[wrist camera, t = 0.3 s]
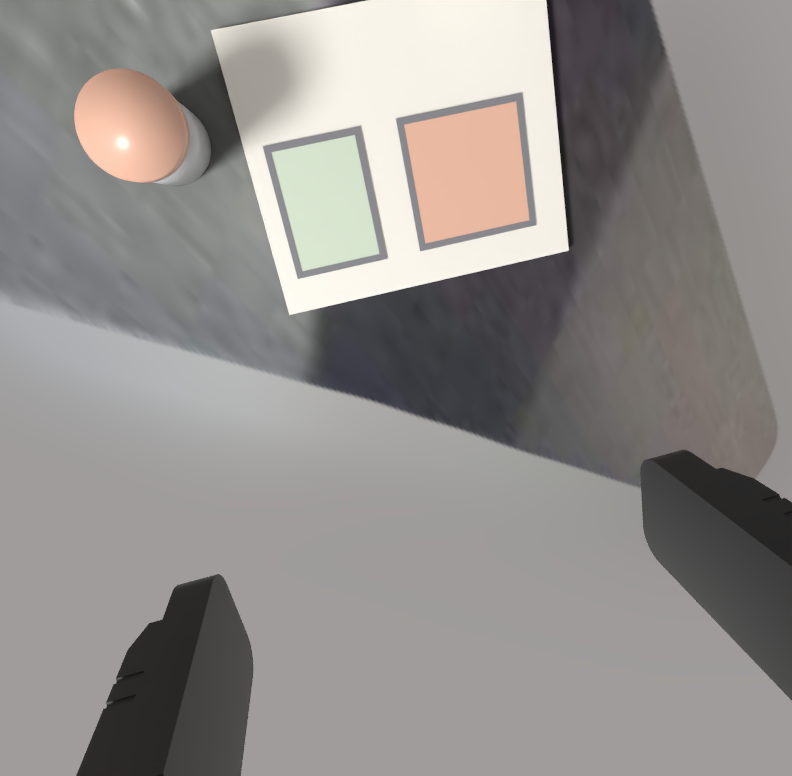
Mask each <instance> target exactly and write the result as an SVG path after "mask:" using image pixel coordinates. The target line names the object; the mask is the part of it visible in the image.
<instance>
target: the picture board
mask: <svg viewBox="0 0 792 776" xmlns="http://www.w3.org/2000/svg"><path fill="white" fill-rule="evenodd" d="M211 32H212V36H213V40H214V43H215V47H216V50H217V54H218V58H219V61H220V65H221V69H222V72H223V76H224V79H225V83H226V87H227V90H228V94H229V98H230V101H231V105H232V108H233V112H234V116H235V119H236V123H237V127H238V130H239V134H240V137H241V141H242V145H243V148H244V152H245V155H246V159H247V163H248V166H249V170H250V174H251V177H252V181H253V184H254V188H255V192H256V195H257V199H258V203H259V206H260V210H261V213H262V217H263V221H264V224H265V228H266V231H267V235H268V239H269V242H270V246H271V250H272V253H273V257H274V260H275V264H276V268H277V271H278V275H279V279H280V282H281V286H282V289H283V293H284V297H285V300H286V304H287V308H288V311H289V315H291V314H296V313H300V312H304V311H309V310H313V309H317V308H322V307H326V306H330V305H335V304H339V303H343V302H348V301H352V300H356V299H361V298H365V297H369V296H374V295H378V294H382V293H387V292H391V291H395V290H400V289H404V288H408V287H413V286H417V285H421V284H426V283H430V282H434V281H439V280H443V279H447V278H452V277H456V276H460V275H465V274H469V273H473V272H478V271H482V270H486V269H491V268H495V267H499V266H504V265H508V264H513V263H517V262H521V261H526V260H530V259H534V258H539V257H543V256H547V255H552V254H556V253H560V252H565V251H569V247H568V236H567V225H566V214H565V203H564V192H563V181H562V170H561V159H560V147H559V136H558V125H557V114H556V103H555V92H554V81H553V70H552V58H551V47H550V36H549V25H548V14H547V3H546V0H367V1H362V2H357V3H352V4H346V5H341V6H336V7H331V8H325V9H320V10H315V11H310V12H304V13H299V14H294V15H289V16H283V17H278V18H273V19H268V20H262V21H257V22H252V23H247V24H241V25H236V26H231V27H226V28H220V29H215V30H211Z"/></svg>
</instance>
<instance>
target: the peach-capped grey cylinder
mask: <svg viewBox="0 0 792 776" xmlns="http://www.w3.org/2000/svg"><path fill="white" fill-rule="evenodd" d="M74 118H75V127H76V131H77V135H78V138H79V140H80V142H81V144H82V146H83V148H84V150H85V151H86V153H87V154H88V155H89V157H90V158H91V159H92V160H93V161H94V162H95V163H96V164H97V165H98V166H99V167H100V168H102V169H103V170H104V171H106V172H107V173H109V174H111V175H113V176H115V177H118V178H120V179H123V180H127V181H133V182H141V183H151V182H153V183H159V184H165V185H172V186H182V185H187V184H190V183H192V182H194V181H195V180H197V179H198V178H199V177H201V176H202V174H203V173H204V172H205V170H206V169H207V167H208V165H209V162H210V157H211V143H210V138H209V135H208V133H207V131H206V129H205V127H204V125H203V124H202V122H201V121H200V120H199V119H198V118H197V117H196V116H195V115H194V114H193V113H192V112H191V111H189V110H188V109H187V108H186V107H184V106H183V105H182V104H181V103H179V102H178V101H177V100H176V99H175V98H174V97H173V95H172V94H171V93H170V92H169V91H168V90H166V89H165V88H164V87H163V86H162V85H160V84H159V83H158V82H156V81H155V80H154V79H152V78H150V77H149V76H147V75H145V74H143V73H140V72H137V71H134V70H130V69H110V70H107V71H103V72H101V73H99V74H97V75H95V76H94V77H92V78H91V79H90V80H89V81H88V82H87V83H86V84H85V85H84V87H83V88H82V90H81V91H80V93H79V95H78V98H77V101H76V105H75V113H74Z"/></svg>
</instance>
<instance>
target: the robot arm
mask: <svg viewBox="0 0 792 776" xmlns="http://www.w3.org/2000/svg"><path fill="white" fill-rule="evenodd" d="M641 492H642V511H643V528H644V534H645V537H646V540H647V543H648V545H649V547H650V549H651V551H652V553H653V555H654V556H655V557H656V559H657V560H658V561H659V562H660V563H661V565H663V567H664V568H665V569H666V570H667V571H668V572H669V573H670V574H671V575H672V576H673V577H674V578H675V579H676V580H677V581H678V582H679V583H680V584H681V585H682V586H683V587H684V588H685V590H686V591H687V592H688V593H689V594H690V595H691V596H692V597H693V598H694V599H695V600H696V601H697V602H698V603H699V604H700V605H701V606H702V607H703V608H704V609H705V610H706V611H707V612H708V614H710V615H711V617H712V618H713V619H714V620H715V621H716V622H717V623H718V624H719V625H720V626H721V627H722V628H723V629H724V630H725V631H726V632H727V633H728V634H729V635H730V636H731V638H732V639H733V640H734V641H735V642H736V643H737V644H738V645H739V646H740V647H741V648H742V649H743V650H744V651H745V652H746V653H747V654H748V655H749V656H750V657H751V658H752V659H753V660H754V661H755V663H756V664H757V665H758V666H759V667H760V668H761V669H762V670H764V672H765V673H766V674H767V675H768V676H769V677H770V678H771V679H772V680H773V681H774V682H775V683H776V684H777V685H778V687H779V688H780V689H781V690H782V691H783V692H784V693H785V694H786V695H787V696H788V697H789V698H790V699H791V700H792V503H791V502H790V501H789V500H787V499H785V498H783V499H781V498H780V496H779V494H777V493H776V492H774V491H773V490H771V489H770V488H768V487H766V486H765V485H763V484H762V483H760V482H759V481H757V480H755V479H754V478H751V477H748V476H745V475H742V474H739V473H736V472H733V471H730V470H727V469H724V468H719V469H715V468H714V467H712V466H711V465H709V464H708V463H706V462H705V461H703V460H702V459H700V458H699V457H697V456H696V455H694V454H693V453H691V452H689V451H687V450H681V451H677V452H673V453H669V454H666V455H662V456H658V457H655V458H651V459H647V460H645V461H643V463H642V465H641ZM252 679H253V657H252V650H251V645H250V641H249V638H248V635H247V633H246V630H245V628H244V625H243V623H242V620H241V618H240V615H239V613H238V611H237V608H236V606H235V603H234V601H233V598H232V596H231V593H230V591H229V589H228V586H227V584H226V581H225V580H224V578H223V577H222V576H221V575H219V574H217V575H214V576H210V577H206V578H203V579H199V580H195V581H191V582H188V583H184V584H180V585H177V586H176V587H175V588H174V590H173V592H172V595H171V597H170V600H169V603H168V606H167V609H166V612H165V614H164V617H163V620H160V621H156V622H153V623H149V624H148V626H147V627H146V628H145V629H144V631H143V632H142V633H141V634H140V636H139V637H138V638H137V639H136V641H135V642H134V643H133V644H132V646H131V647H130V648H129V649H128V651H127V653H126V656H125V658H124V660H123V663H122V665H121V668H120V670H119V673H118V675H117V678H116V680H117V683H116V684H114V685H113V687H112V690H111V692H110V695H109V697H108V700H107V702H106V704H107V708H106V709H103V712H102V714H101V717H100V719H99V722H98V724H97V727H96V729H95V731H94V734H93V736H92V739H91V741H90V744H89V746H88V748H87V751H86V753H85V756H84V758H83V761H82V763H81V766H80V768H79V771H78V773H77V776H241V768H242V760H243V752H244V743H245V735H246V727H247V719H248V711H249V703H250V694H251V687H252Z"/></svg>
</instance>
